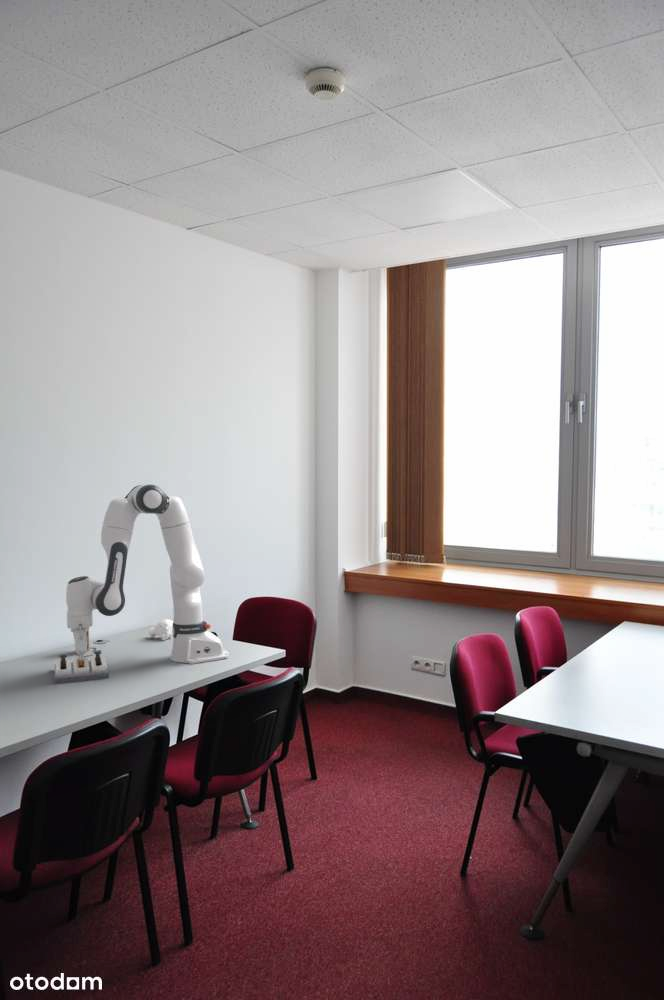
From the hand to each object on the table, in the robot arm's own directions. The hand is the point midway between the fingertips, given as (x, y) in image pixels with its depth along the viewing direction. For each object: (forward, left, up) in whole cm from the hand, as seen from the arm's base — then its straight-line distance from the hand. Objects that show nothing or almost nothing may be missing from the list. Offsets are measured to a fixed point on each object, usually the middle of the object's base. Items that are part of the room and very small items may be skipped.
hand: (81, 659), depth 269 cm
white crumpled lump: (-34, -42, -5) cm, 54 cm away
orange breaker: (0, -2, -3) cm, 4 cm away
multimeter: (-5, -29, -5) cm, 30 cm away
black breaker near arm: (-6, -2, -3) cm, 7 cm away
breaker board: (0, +1, -5) cm, 5 cm away
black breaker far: (+6, -2, -3) cm, 7 cm away
